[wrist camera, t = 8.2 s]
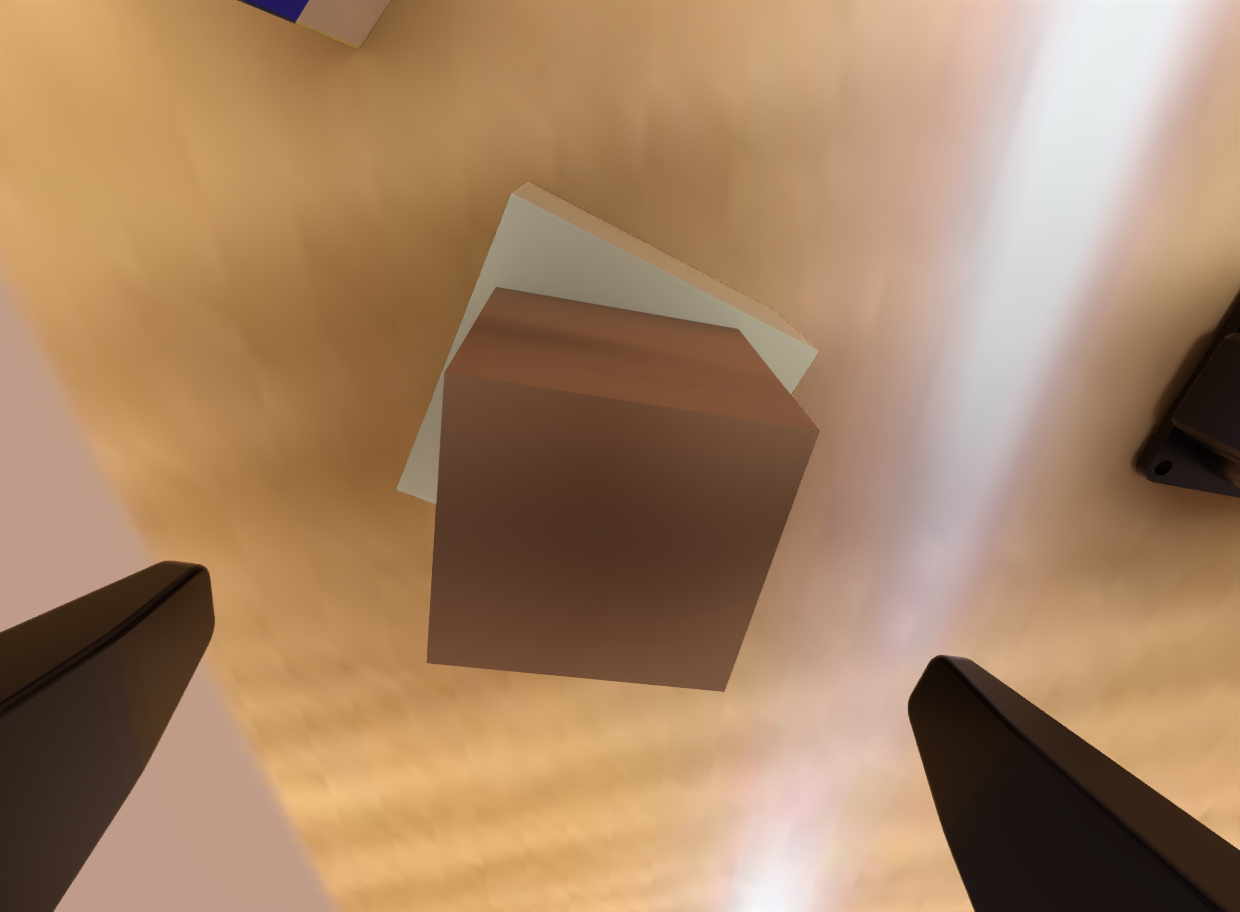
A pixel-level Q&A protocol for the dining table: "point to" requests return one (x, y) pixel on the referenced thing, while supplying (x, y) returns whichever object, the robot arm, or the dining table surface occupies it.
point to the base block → (599, 297)
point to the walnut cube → (607, 493)
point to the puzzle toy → (328, 16)
